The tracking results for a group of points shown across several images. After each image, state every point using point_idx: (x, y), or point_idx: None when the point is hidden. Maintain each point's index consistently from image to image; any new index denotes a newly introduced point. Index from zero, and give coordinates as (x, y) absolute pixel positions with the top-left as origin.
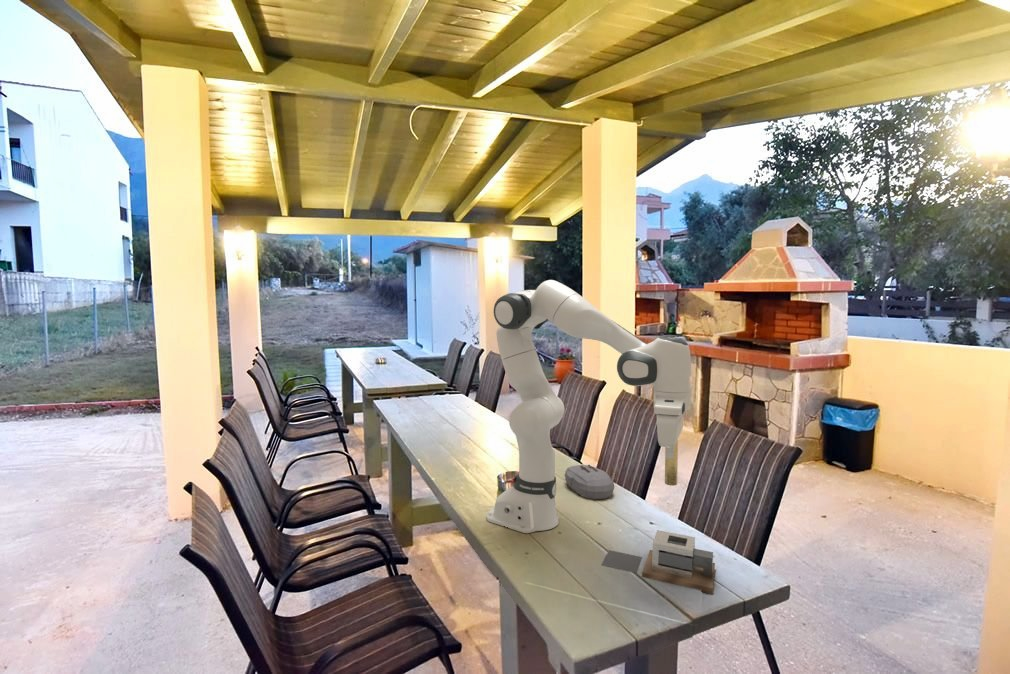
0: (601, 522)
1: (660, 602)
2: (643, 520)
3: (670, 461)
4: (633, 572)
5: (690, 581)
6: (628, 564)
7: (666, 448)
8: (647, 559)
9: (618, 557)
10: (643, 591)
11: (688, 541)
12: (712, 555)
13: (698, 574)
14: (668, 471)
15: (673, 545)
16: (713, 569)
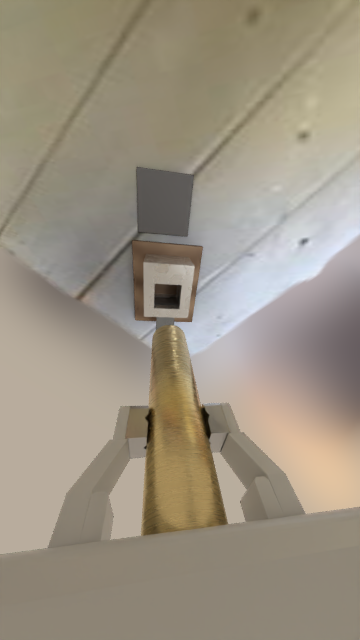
0: (307, 141)
1: (89, 267)
2: (313, 228)
3: (149, 396)
4: (138, 227)
5: (138, 299)
6: (157, 216)
7: (89, 469)
8: (172, 245)
9: (173, 197)
10: (101, 244)
11: (170, 310)
12: None
13: None
14: (151, 360)
15: (148, 292)
16: (176, 320)
